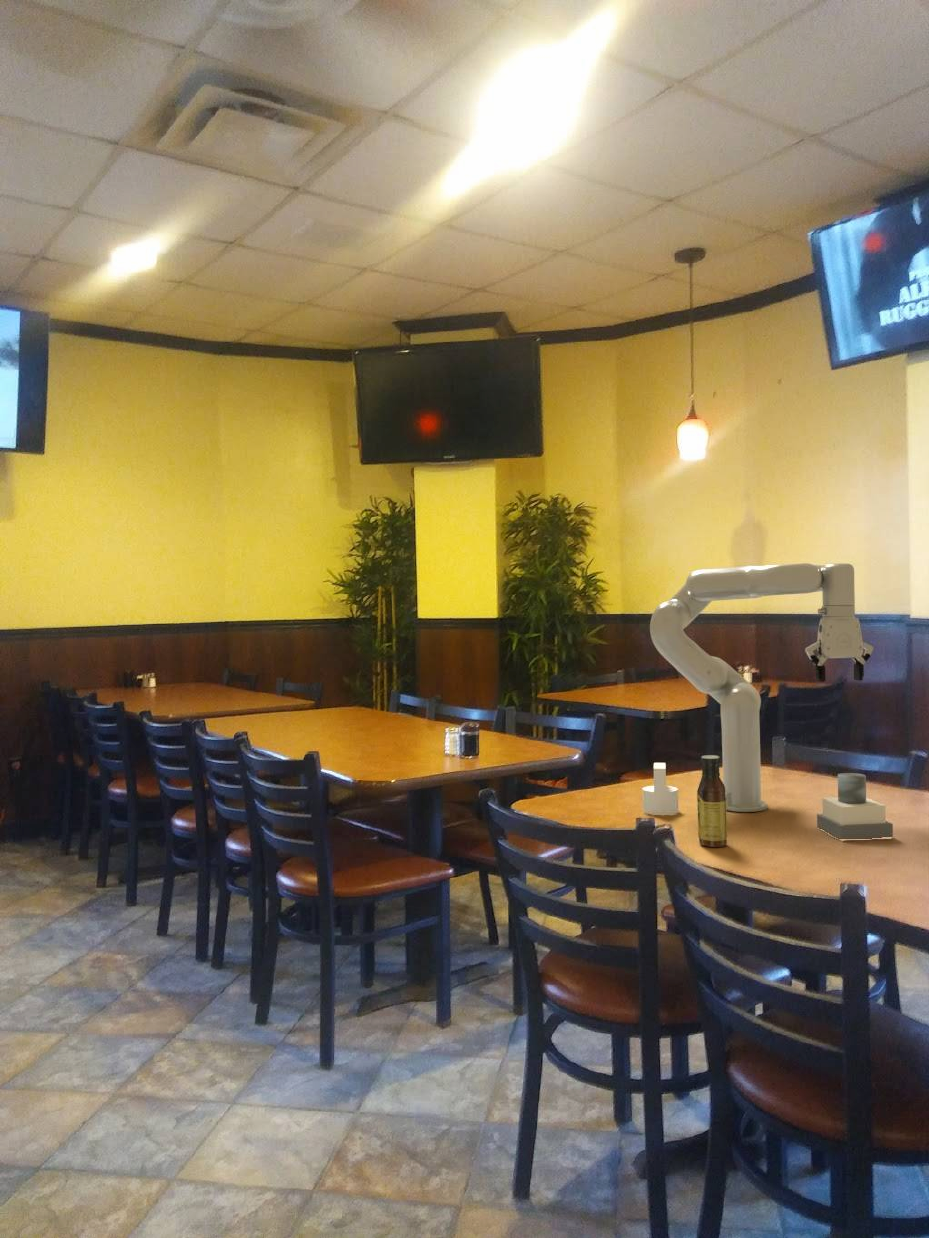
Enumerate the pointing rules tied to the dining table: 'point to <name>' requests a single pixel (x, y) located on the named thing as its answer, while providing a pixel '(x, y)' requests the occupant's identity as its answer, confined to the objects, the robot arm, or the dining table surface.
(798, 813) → the dining table surface
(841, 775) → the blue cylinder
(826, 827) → the tower bottom
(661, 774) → the cylinder with rectangular tab
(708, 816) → the sauce bottle
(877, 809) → the tower top
